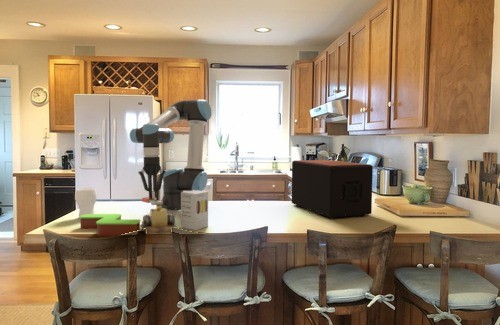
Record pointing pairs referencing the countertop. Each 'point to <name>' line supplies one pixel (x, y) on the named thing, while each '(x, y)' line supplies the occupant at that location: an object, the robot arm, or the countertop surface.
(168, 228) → the board
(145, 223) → the valve
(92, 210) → the cup
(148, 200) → the lever
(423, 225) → the countertop surface
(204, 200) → the supplement box
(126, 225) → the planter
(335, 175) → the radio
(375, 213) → the countertop surface
